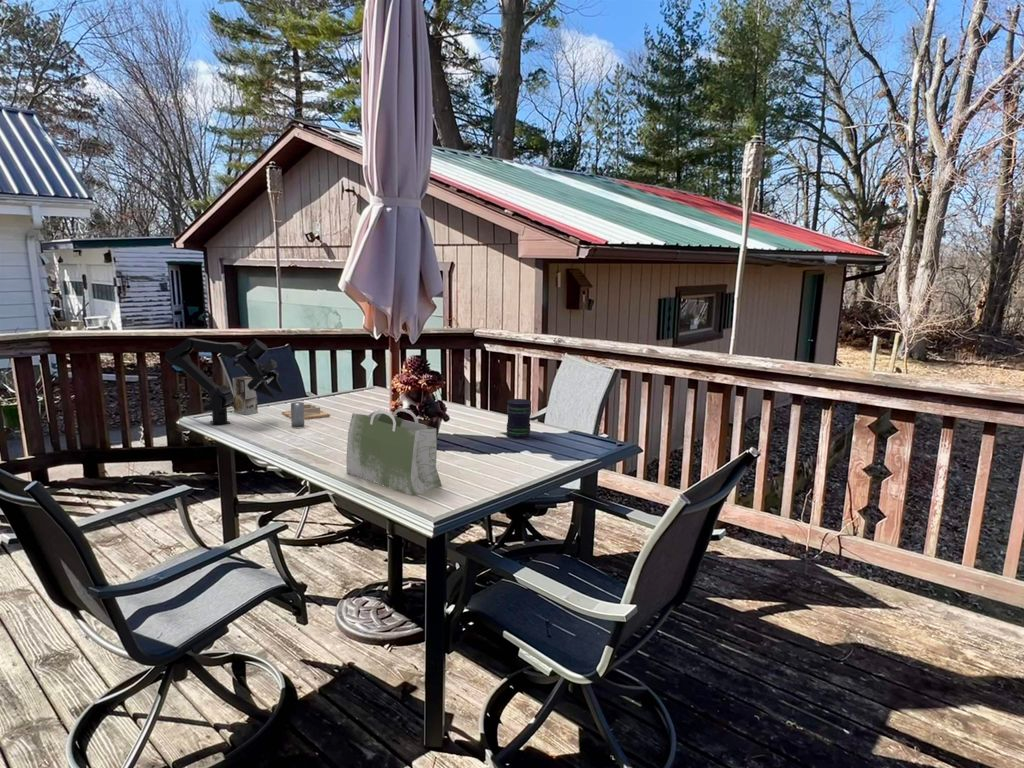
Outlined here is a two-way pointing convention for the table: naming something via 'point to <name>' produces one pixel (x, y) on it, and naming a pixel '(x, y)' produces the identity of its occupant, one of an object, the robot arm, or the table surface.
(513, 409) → the storage jar
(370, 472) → the grocery bag
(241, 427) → the table surface
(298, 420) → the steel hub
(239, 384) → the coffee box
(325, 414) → the socket block
